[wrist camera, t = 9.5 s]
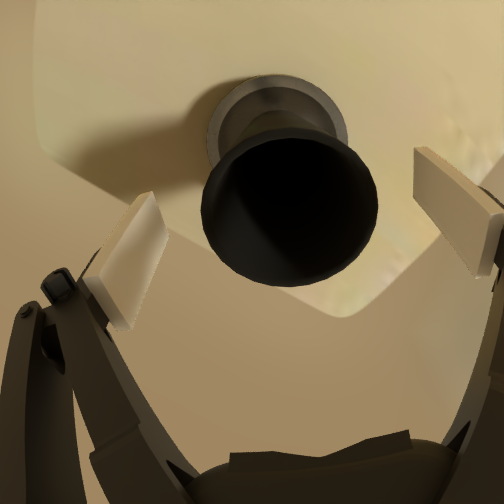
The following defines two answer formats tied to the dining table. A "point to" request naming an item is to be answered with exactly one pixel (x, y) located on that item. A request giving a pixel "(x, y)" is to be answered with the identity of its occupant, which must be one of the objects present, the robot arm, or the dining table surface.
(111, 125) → the dining table surface
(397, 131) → the dining table surface
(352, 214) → the cup
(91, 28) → the dining table surface
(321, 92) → the grey metal bowl
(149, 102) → the dining table surface
